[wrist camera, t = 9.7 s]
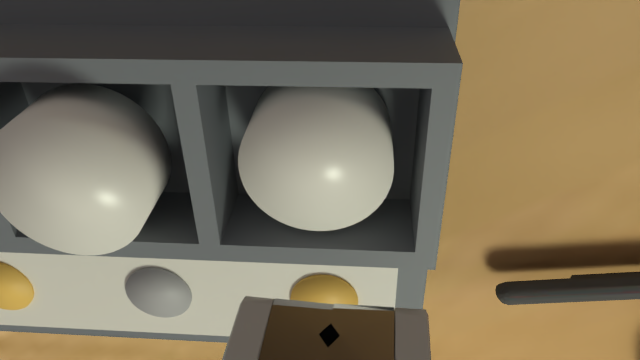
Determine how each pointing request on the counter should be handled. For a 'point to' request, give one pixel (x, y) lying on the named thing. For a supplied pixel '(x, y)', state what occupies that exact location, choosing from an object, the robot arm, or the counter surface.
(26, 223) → the middle button
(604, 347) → the counter surface
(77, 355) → the counter surface
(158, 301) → the pattern board
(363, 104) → the button
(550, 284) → the walkie-talkie
